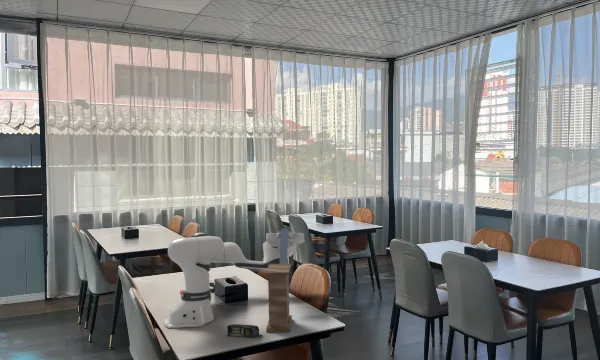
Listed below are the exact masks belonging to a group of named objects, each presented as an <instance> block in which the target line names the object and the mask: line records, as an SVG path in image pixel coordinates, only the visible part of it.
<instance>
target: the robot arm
mask: <svg viewBox="0 0 600 360" xmlns="http://www.w3.org/2000/svg"><path fill="white" fill-rule="evenodd" d="M280 242H281V231H277V233H276V232H274V233H273V232H268V233H266V234H265V240H264V241H263V243H262V252H263V261H260V260H259V261H258V260H249V259H248V258H246V256H245V255H244V253H243V251H242V248H241V247H240V246H239V245H238V244H237V243H235V242H231V241H226V242H224V241H223V239H222V238H221V237H220V236H213V235H209V234H208V233H205V232H196V233H194V234H192V235H191V236H190V237H182V238H177V239H175V240H172V241H171V242H169V245H168V248H167V255H168V258H169V259H170V260H171V261H172V262H174V263H175V264H177V265H178V266H179V267H180V268H181V270H182V272H183V275H184V284H185V285H184V286H185V290H184V289H181V290H180V291H179V294H180V295H181V296H180V300H178V301H177V302H176V303H175V304H173V305H172V306H171V308H170V310H169V314H168V316H167V317H165V319H164V322H163V324H164V327H165V328H168V329H177V328H194V327H195V328H197V327H202V326H205V325H206V324H208V323H210V322H212V321H213V320H214V319H215V317H214V316H215V315H214V313H213V310H212V309H213V307H212V304H211V302H212V293H211V289H210V281H211V280H210V271H211V268H212V264H211V263H214V264H215V263H216V264H221V263H223V264H225V263H229V264H230V263H231V264H233V265H234V266H235V267H236V268H240V269H244V270H257V271H265V272H266V270H267V268H268V266H269V264H280ZM304 242H306V238H305V234H304V233H303V232H291V231H289V230H288V252H287V258H289V257H292V256H293V255H294V253H295V252H296V244H299V245H300V244H303V243H304Z"/></svg>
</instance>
